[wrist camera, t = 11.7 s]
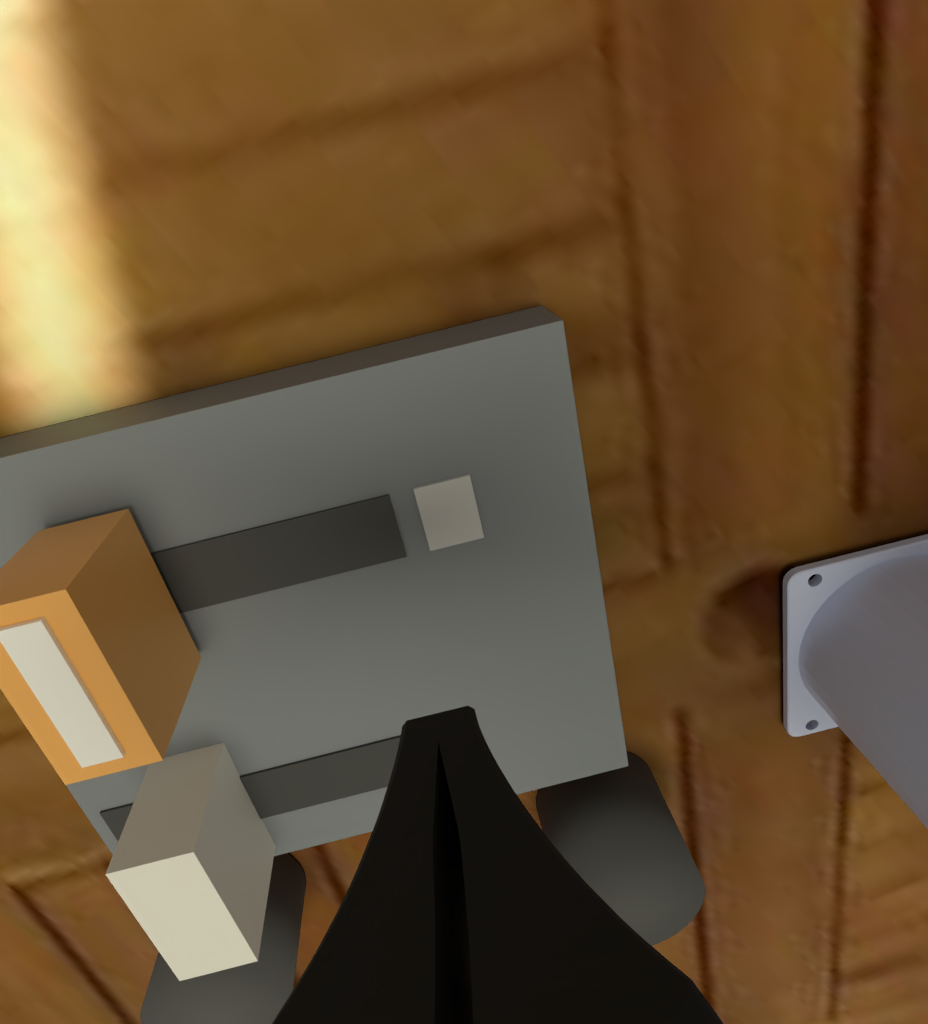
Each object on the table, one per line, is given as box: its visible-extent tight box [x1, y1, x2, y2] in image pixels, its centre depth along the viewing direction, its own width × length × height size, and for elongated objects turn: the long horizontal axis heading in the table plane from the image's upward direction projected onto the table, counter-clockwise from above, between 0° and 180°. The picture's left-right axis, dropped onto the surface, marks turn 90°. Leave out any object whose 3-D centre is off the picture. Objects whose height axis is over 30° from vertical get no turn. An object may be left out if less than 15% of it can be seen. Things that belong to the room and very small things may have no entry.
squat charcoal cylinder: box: [141, 853, 306, 1024], centre depth 26 cm, size 5×5×5 cm
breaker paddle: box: [0, 509, 201, 785], centre depth 17 cm, size 2×5×4 cm, turn 12°
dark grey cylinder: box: [536, 751, 705, 946], centre depth 26 cm, size 5×5×5 cm
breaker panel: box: [0, 305, 628, 981], centre depth 20 cm, size 18×16×6 cm
